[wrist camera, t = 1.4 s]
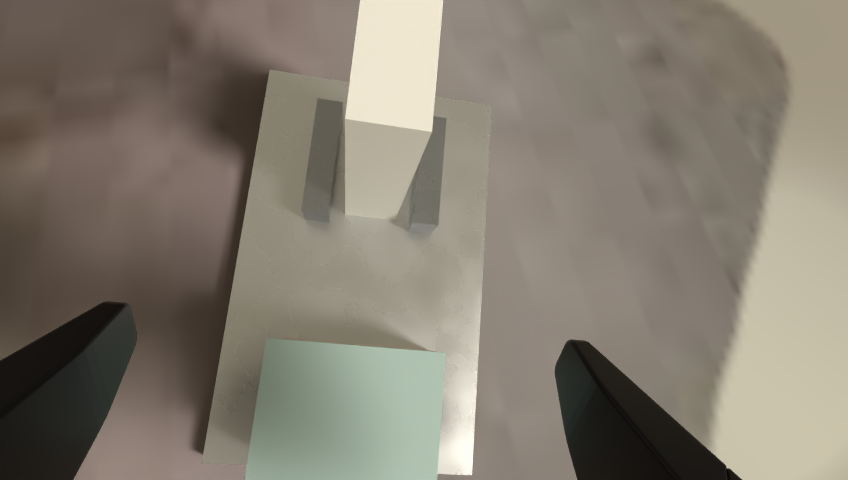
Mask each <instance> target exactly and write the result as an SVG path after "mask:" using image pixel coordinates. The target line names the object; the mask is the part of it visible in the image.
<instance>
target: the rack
mask: <svg viewBox="0 0 848 480" xmlns="http://www.w3.org/2000/svg"><path fill="white" fill-rule="evenodd" d="M349 84H350V82H344V81H338V80H332V79H326V78H319V77H313V76H307V75H301V74H295V73H289V72H282V71H276V70H270V71H269V77H268V82H267V88H266V94H265V100H264V106H263V111H262V117H261V123H260V129H259V135H258V140H257V146H256V152H255V158H254V163H253V169H252V175H251V181H250V187H249V192H248V198H247V204H246V210H245V215H244V221H243V227H242V233H241V239H240V244H239V250H238V256H237V262H236V268H235V273H234V279H233V285H232V291H231V296H230V302H229V308H228V314H227V320H226V325H225V331H224V337H223V343H222V348H221V354H220V360H219V366H218V372H217V377H216V383H215V389H214V395H213V401H212V406H211V412H210V418H209V424H208V429H207V435H206V441H205V447H204V453H203V458H202V463H205V464H228V465H247V460H248V454H249V447H250V441H251V434H252V427H253V421H254V414H255V408H256V401H257V395H258V388H259V382H260V375H261V369H262V362H263V356H264V349H265V343H266V338H285V339H298V340H310V341H322V342H334V343H346V344H359V345H371V346H383V347H395V348H407V349H420V350H430V351H437V352H444V353H446V357H445V372H444V386H443V401H442V415H441V429H440V444H439V458H438V473H437V474H457V475H472V463H473V444H474V426H475V407H476V389H477V371H478V352H479V334H480V315H481V297H482V278H483V260H484V242H485V223H486V205H487V186H488V168H489V149H490V131H491V113H492V105H487V104H480V103H474V102H468V101H462V100H456V99H449V98H443V97H437V96H435V103H434V114H433V126H432V133H431V136H430V138H429V140H428V143H427V145H426V147H425V150H424V152H423V155H422V157H421V159H420V162H419V164H418V167H417V169H416V171H415V174H414V176H413V178H412V181H411V183H410V186H409V188H408V190H407V193H406V195H405V198H404V200H403V202H402V205H401V207H400V209H399V212H398V214H397V217H396V219H395V221H394V220H386V219H378V218H370V217H361V216H353V215H345V115H346V107H347V99H348V92H349Z"/></svg>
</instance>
